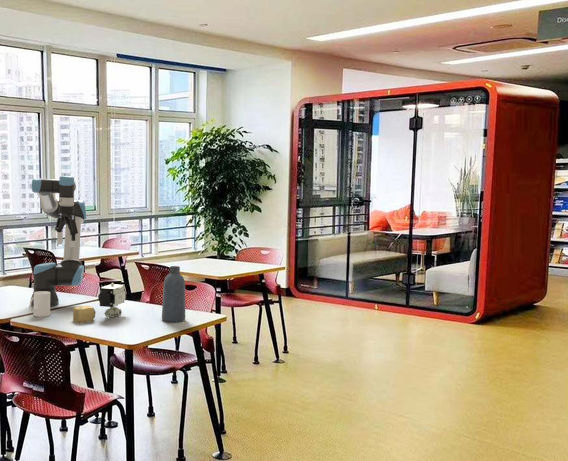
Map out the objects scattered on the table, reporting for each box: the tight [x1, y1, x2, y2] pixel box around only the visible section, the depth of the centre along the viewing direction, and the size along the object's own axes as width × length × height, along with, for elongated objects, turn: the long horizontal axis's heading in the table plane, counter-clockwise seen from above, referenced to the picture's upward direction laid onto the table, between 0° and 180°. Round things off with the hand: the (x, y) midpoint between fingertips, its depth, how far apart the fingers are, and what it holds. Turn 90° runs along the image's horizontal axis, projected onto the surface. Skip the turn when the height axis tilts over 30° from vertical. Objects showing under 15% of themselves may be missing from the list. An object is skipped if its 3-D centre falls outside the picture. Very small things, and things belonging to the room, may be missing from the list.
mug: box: [29, 291, 51, 318], centre depth 321 cm, size 12×8×12 cm
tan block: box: [72, 305, 96, 324], centre depth 314 cm, size 6×10×7 cm, turn 136°
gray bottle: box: [161, 265, 186, 323], centre depth 322 cm, size 12×12×28 cm
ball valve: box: [97, 282, 127, 319], centre depth 326 cm, size 18×8×18 cm, turn 168°
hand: (66, 245), depth 327 cm, fingers open, 13 cm apart
